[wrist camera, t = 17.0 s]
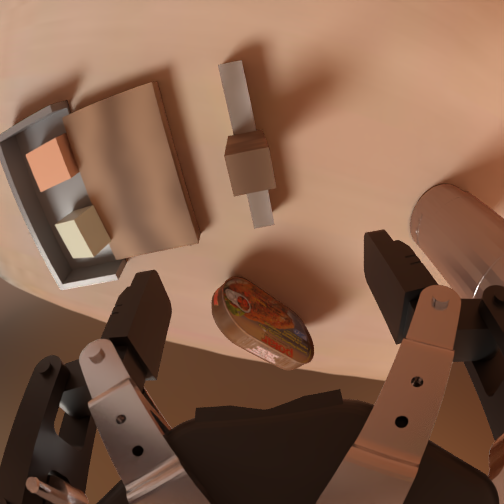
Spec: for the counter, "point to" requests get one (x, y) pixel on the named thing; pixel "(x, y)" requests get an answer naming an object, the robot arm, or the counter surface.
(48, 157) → the salmon pink cube
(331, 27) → the counter surface
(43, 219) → the box
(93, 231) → the cream block
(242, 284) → the tin
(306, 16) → the counter surface
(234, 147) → the cube on grey rod
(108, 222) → the walnut board
